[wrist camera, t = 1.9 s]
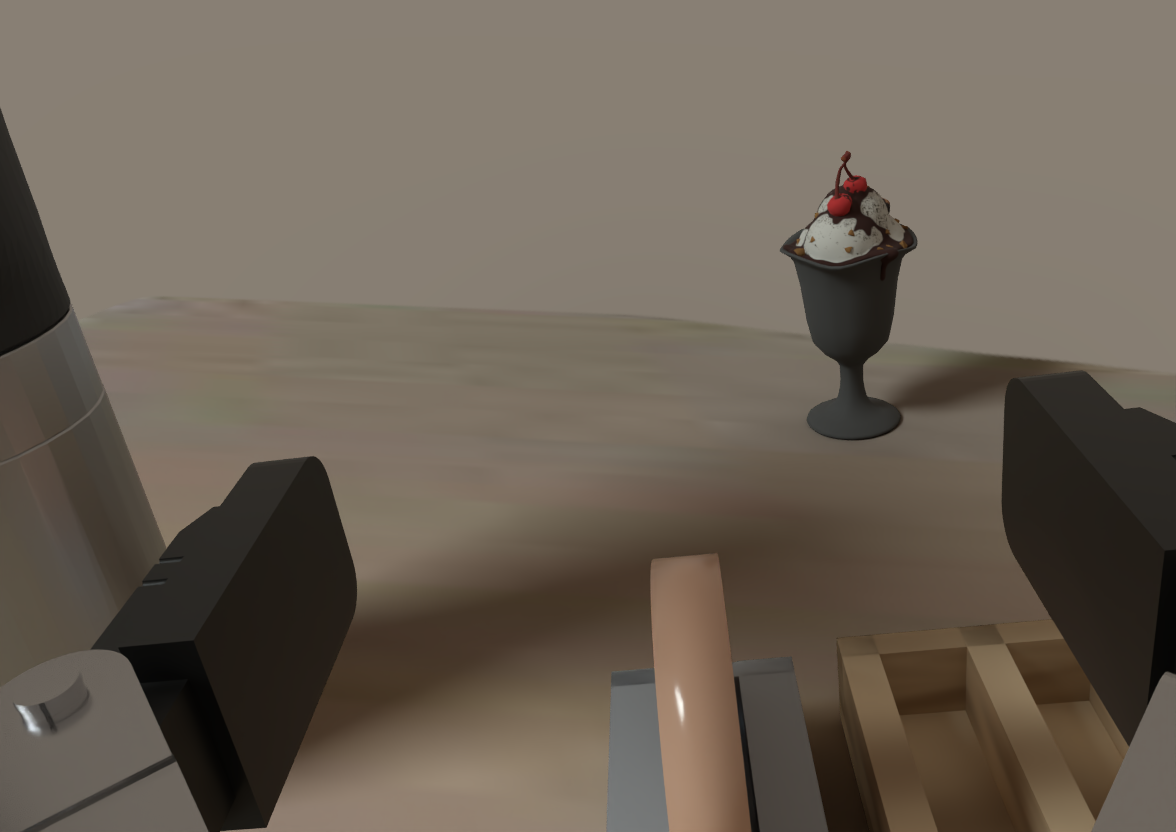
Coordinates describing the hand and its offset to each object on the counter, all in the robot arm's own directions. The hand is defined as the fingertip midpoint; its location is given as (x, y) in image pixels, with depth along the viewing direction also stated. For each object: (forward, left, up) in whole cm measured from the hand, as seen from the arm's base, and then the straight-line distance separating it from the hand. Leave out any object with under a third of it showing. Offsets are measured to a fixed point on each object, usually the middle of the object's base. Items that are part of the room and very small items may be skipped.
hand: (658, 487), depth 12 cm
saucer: (-8, +6, -14) cm, 18 cm away
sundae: (-27, +31, -20) cm, 46 cm away
